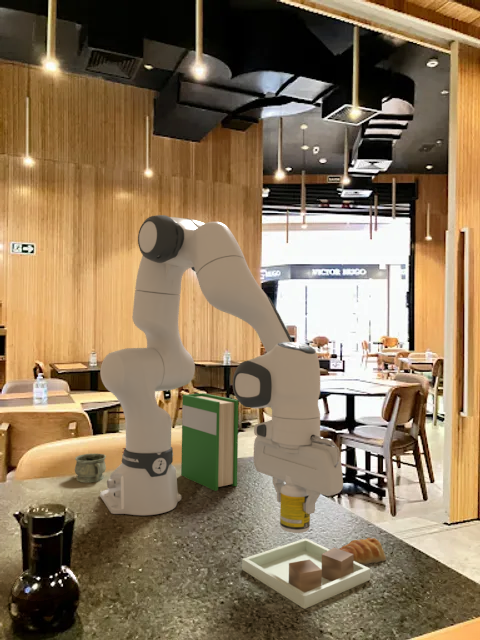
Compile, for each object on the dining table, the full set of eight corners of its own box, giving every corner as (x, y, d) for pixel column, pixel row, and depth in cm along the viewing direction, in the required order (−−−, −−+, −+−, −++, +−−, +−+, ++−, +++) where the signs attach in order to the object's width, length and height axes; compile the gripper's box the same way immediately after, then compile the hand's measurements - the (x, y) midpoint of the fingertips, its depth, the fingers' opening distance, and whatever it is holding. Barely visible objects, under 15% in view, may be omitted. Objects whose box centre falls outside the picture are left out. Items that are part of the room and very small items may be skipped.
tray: (242, 572, 93) (242, 558, 94) (305, 550, 103) (305, 538, 103) (304, 612, 81) (304, 596, 81) (370, 583, 90) (370, 568, 90)
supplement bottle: (308, 535, 91) (309, 479, 91) (278, 532, 92) (278, 477, 92) (311, 524, 96) (311, 471, 97) (282, 521, 97) (282, 469, 98)
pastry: (348, 573, 94) (348, 552, 94) (327, 558, 101) (327, 538, 101) (388, 564, 98) (389, 544, 98) (366, 550, 104) (366, 531, 105)
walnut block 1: (288, 586, 87) (288, 563, 87) (309, 582, 89) (309, 559, 89) (300, 598, 84) (300, 573, 84) (321, 594, 85) (321, 569, 85)
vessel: (114, 480, 148) (114, 458, 148) (84, 486, 142) (85, 463, 142) (95, 471, 157) (95, 450, 157) (66, 476, 151) (67, 455, 151)
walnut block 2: (321, 577, 91) (321, 554, 91) (333, 569, 94) (334, 547, 94) (341, 585, 88) (341, 561, 88) (353, 576, 91) (353, 554, 91)
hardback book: (237, 486, 144) (238, 400, 145) (215, 491, 140) (216, 402, 140) (202, 471, 158) (203, 393, 159) (181, 475, 154) (182, 394, 154)
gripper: (351, 438, 88) (351, 520, 88) (272, 421, 105) (272, 490, 104) (325, 443, 84) (325, 528, 84) (248, 424, 101) (247, 496, 100)
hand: (295, 507), depth 94 cm, fingers closed on supplement bottle, 5 cm apart
